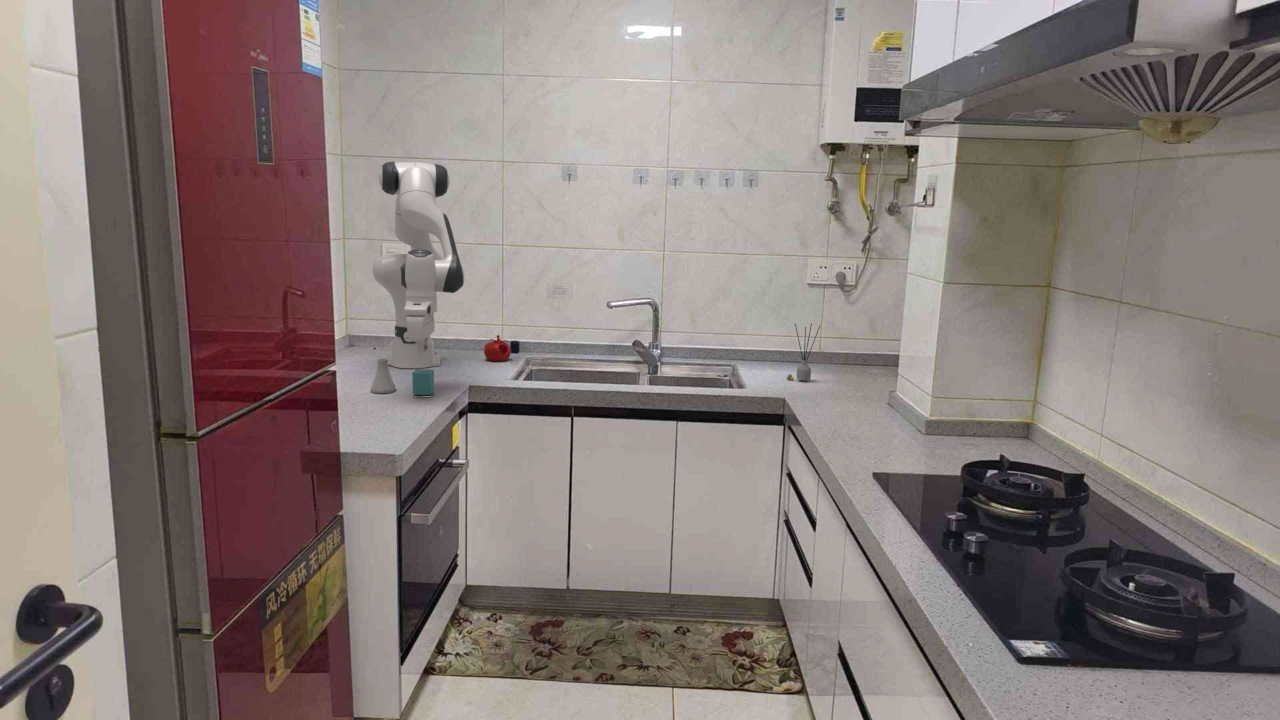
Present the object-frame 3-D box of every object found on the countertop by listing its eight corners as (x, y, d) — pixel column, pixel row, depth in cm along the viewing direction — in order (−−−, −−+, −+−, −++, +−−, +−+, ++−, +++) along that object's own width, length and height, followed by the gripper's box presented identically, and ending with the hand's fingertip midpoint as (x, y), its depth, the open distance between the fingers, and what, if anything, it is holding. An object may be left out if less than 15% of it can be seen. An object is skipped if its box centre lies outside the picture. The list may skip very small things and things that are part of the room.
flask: (365, 392, 251) (364, 359, 249) (383, 387, 257) (382, 356, 256) (383, 395, 248) (382, 362, 246) (401, 390, 254) (400, 358, 252)
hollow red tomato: (479, 361, 303) (479, 336, 301) (490, 357, 312) (490, 332, 311) (505, 363, 301) (504, 338, 299) (515, 358, 310) (515, 334, 308)
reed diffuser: (816, 380, 285) (820, 322, 281) (817, 384, 278) (821, 325, 275) (786, 378, 287) (789, 321, 283) (786, 382, 280) (789, 323, 276)
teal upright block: (416, 390, 251) (416, 369, 250) (434, 390, 251) (433, 369, 250) (412, 394, 246) (412, 372, 245) (430, 394, 246) (430, 373, 245)
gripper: (418, 301, 254) (419, 346, 256) (402, 309, 234) (403, 358, 236) (439, 301, 254) (440, 346, 257) (425, 310, 234) (426, 358, 237)
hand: (422, 352), depth 246 cm, fingers open, 3 cm apart
